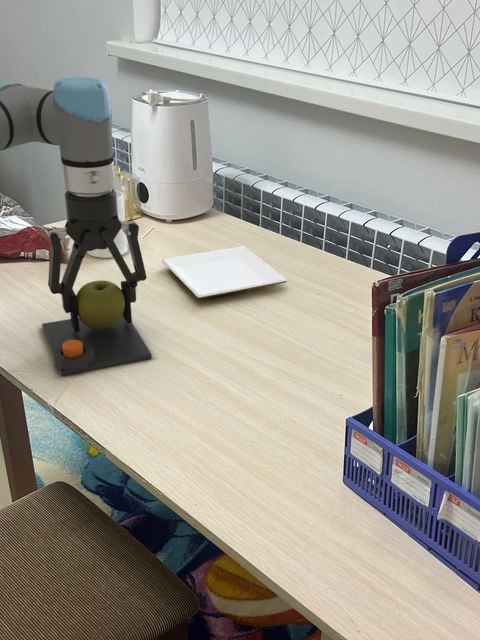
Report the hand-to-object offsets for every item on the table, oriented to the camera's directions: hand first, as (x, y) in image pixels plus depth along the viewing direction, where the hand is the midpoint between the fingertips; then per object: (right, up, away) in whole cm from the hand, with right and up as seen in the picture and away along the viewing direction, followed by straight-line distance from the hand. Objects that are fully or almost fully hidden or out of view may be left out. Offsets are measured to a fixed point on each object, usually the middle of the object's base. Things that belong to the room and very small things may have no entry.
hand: (101, 323), depth 115 cm
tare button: (-2, -5, -9) cm, 11 cm away
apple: (0, 0, 0) cm, 0 cm away
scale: (0, -3, -2) cm, 4 cm away
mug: (-6, +17, +32) cm, 37 cm away
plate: (+19, +10, +21) cm, 30 cm away
